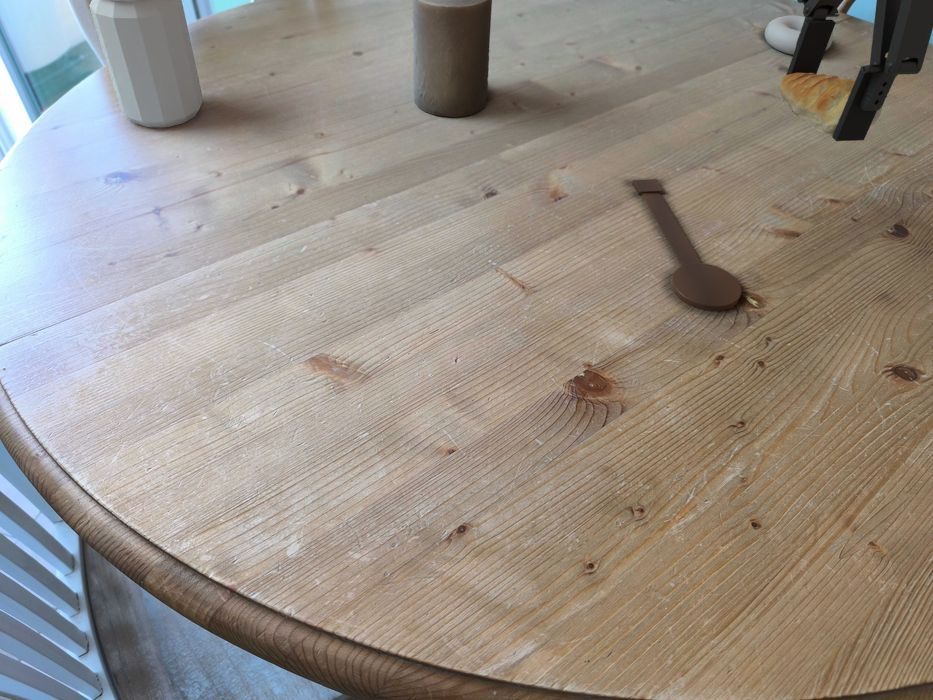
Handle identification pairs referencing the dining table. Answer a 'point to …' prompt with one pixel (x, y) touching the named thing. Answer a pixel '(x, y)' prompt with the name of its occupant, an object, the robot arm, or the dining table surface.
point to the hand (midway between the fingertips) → (820, 111)
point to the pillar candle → (451, 55)
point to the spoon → (689, 259)
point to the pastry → (818, 98)
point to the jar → (149, 59)
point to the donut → (786, 33)
